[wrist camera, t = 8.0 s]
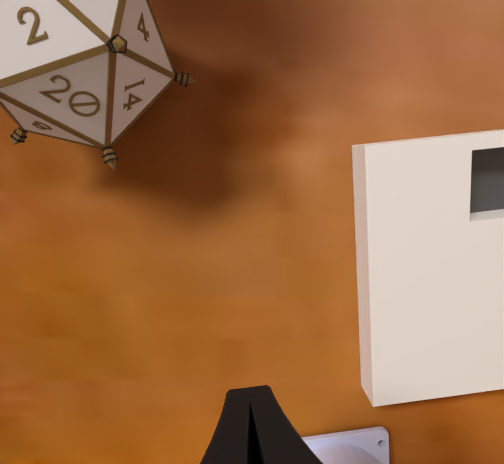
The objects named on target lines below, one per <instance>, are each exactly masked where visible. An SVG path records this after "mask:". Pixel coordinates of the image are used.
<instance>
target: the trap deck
mask: <svg viewBox="0 0 504 464" xmlns="http://www.w3.org/2000/svg"><path fill="white" fill-rule="evenodd" d="M352 162H353V188H354V213H355V239H356V264H357V290H358V315H359V341H360V366H361V386H362V388H363V390H364V392H365V393H366V395H367V397H368V399H369V400H370V402H371V404H372V406H373V407H376V406H383V405H390V404H398V403H405V402H412V401H419V400H427V399H434V398H441V397H449V396H456V395H463V394H470V393H478V392H485V391H492V390H500V389H504V129H501V130H491V131H482V132H472V133H463V134H453V135H444V136H434V137H425V138H415V139H406V140H396V141H387V142H377V143H368V144H359V145H352Z"/></svg>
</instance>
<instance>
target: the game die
mask: <svg viewBox="0 0 504 464" xmlns="http://www.w3.org/2000/svg"><path fill="white" fill-rule="evenodd" d="M174 81H176V82H178V83H180V85H181V84H182V85H185V87H186V86H187V85H190V84H193V83H195V82H196V81H195V80H193V79H192V78H191V77H190V76H189V73H187V74H183V72H182V73H176V72H175V70H174V67H173V65H172V62H171V59H170V57H169V54H168V52H167V49H166V46H165V44H164V41H163V38H162V36H161V33H160V30H159V28H158V25H157V22H156V20H155V17H154V14H153V12H152V9H151V7H150V4H149V1H148V0H0V106H1V107H2V108H3V110H4V111H5V112H6V113H7V114H8V115H9V116H10V118H11V119H12V120H13V121H14V122H15V123H16V124H17V125H18V127H19V128H18V129H16V130H15V131H14V132H13V134H12V135H11V137H12V142H13V145H14V144H17V143H20V142H25V141H24V139H25V138H27V136H26V133H27V132H31V133H35V134H40V135H44V136H48V137H52V138H57V139H61V140H65V141H69V142H73V143H78V144H82V145H86V146H90V147H95V148H99V149H102V150H103V152H104V155H103V156H102V157H103V158H104V159H105V161H104V163H107V164H108V165H109V166H110V167H112V168H113V169H114V170H115V167H116V162H117V161H118V158H117V157H116V156H115V155H116V154H115V152H113V150H112V149H111V147H112V146H113V145H114V144H115V143H116V142H117V141H118V140H119V139H120V138H121V137H122V136H123V135H124V134H125V133H126V132H127V130H128V129H129V128H130V127H131V126H132V125H133V124H134V123H135V122H136V121H137V120H138V119H139V118H140V117H141V116H142V115H143V114H144V112H145V111H146V110H147V109H148V108H149V107H150V106H151V105H152V104H153V103H154V102H155V101H156V100H157V99H158V98H159V97H160V95H161V94H162V93H163V92H164V91H165V90H166V89H167V88H168V87H169V86H170V85H171V84H172V83H173V82H174Z"/></svg>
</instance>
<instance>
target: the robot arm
mask: <svg viewBox="0 0 504 464" xmlns="http://www.w3.org/2000/svg"><path fill="white" fill-rule="evenodd" d="M381 440H383V441H382V442H379V441H381ZM200 464H389V434H388V432H387V430H386V429H385V428H384V427H373V428H366V429H359V430H351V431H344V432H337V433H330V434H323V435H316V436H309V437H300V435H299V434H298V433H297V431H296V430H295V429H294V427H293V426H292V424H291V423H290V421H289V420H288V419H287V417H286V416H285V414H284V412H283V411H282V409H281V407H280V406H279V404H278V402H277V400H276V399H275V397H274V395H273V392H272V390H271V388H270V387H269V386H268V385H264V386H256V387H248V388H240V389H232V390H229V391H228V392H227V393H226V399H225V403H224V407H223V410H222V413H221V416H220V419H219V422H218V424H217V427H216V430H215V432H214V435H213V437H212V440H211V442H210V444H209V446H208V448H207V450H206V452H205V455H204V457H203V459H202V461H201V463H200Z"/></svg>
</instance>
